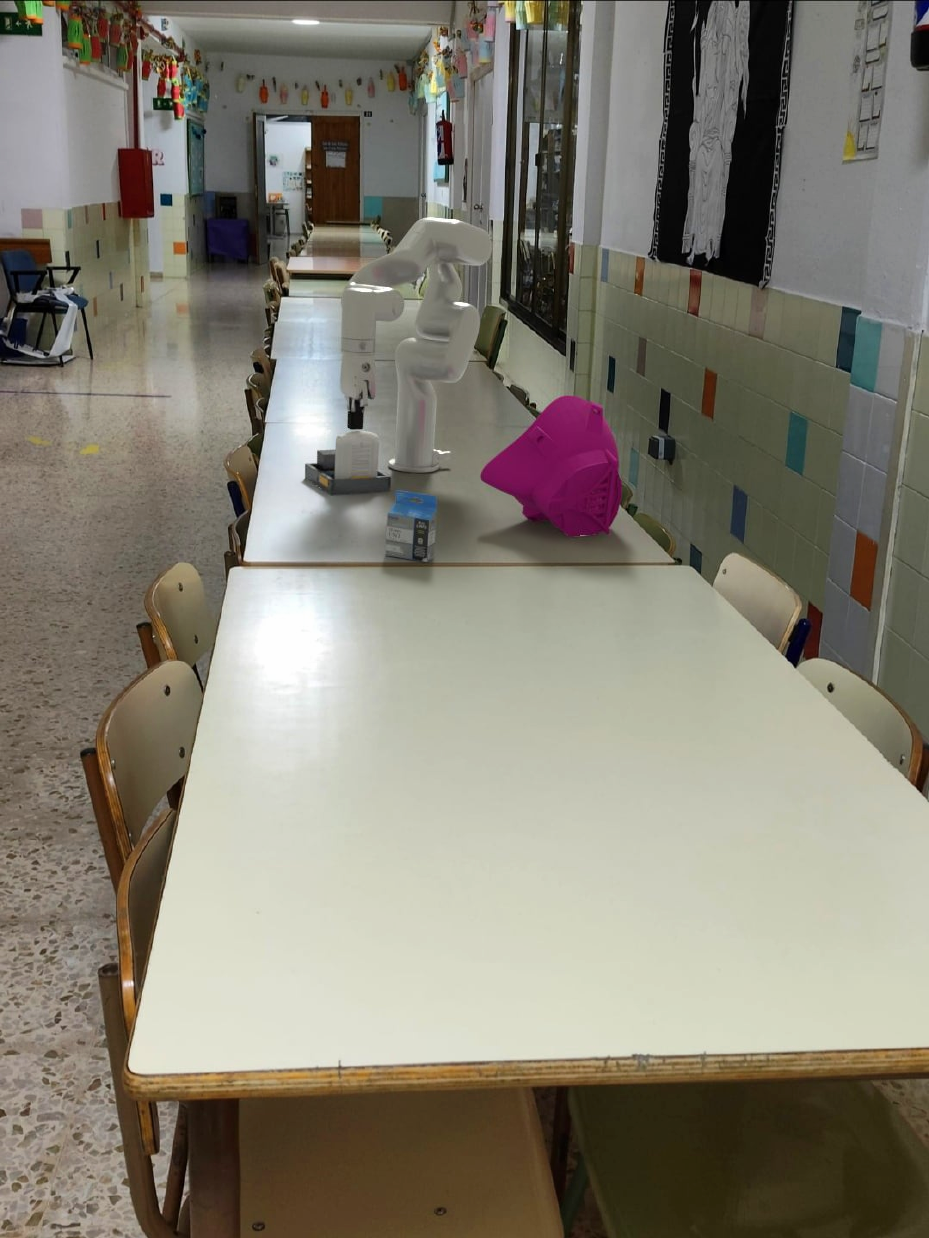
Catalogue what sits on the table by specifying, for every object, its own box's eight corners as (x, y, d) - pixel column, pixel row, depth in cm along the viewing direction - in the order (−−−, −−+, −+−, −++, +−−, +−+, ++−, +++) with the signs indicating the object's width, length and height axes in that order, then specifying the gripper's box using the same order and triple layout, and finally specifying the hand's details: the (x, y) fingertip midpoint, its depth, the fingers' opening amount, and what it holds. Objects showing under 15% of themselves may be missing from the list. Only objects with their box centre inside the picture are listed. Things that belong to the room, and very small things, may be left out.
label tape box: (384, 556, 230) (386, 493, 226) (393, 550, 234) (395, 489, 229) (426, 563, 227) (430, 500, 223) (434, 558, 231) (438, 495, 227)
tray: (362, 474, 290) (363, 446, 288) (390, 491, 277) (391, 461, 274) (304, 478, 283) (304, 449, 281) (330, 495, 270) (331, 465, 267)
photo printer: (371, 480, 281) (373, 428, 277) (380, 485, 278) (382, 431, 273) (331, 483, 276) (332, 430, 272) (339, 488, 273) (340, 434, 268)
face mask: (638, 550, 257) (509, 577, 248) (592, 495, 274) (469, 518, 264) (656, 437, 240) (518, 461, 231) (605, 386, 256) (474, 406, 247)
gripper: (387, 351, 261) (383, 435, 267) (360, 341, 273) (357, 422, 280) (355, 351, 258) (352, 436, 264) (329, 341, 270) (327, 423, 276)
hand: (355, 428), depth 272 cm, fingers closed
